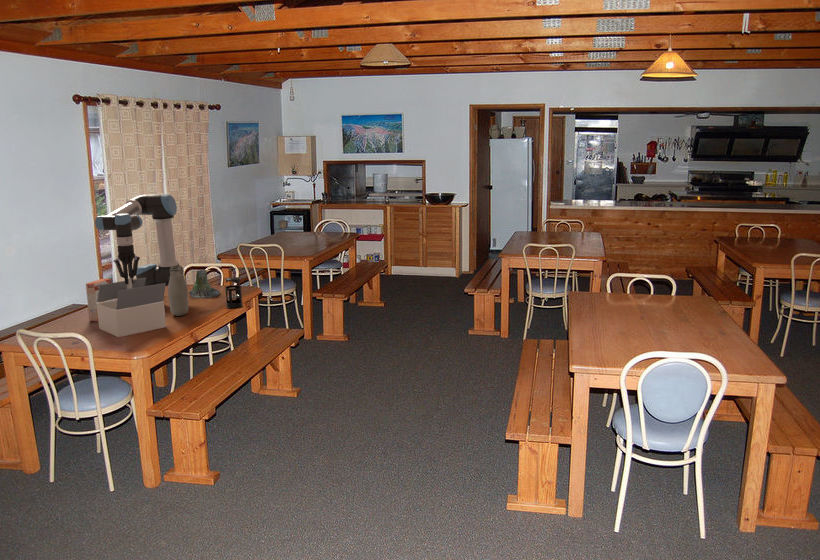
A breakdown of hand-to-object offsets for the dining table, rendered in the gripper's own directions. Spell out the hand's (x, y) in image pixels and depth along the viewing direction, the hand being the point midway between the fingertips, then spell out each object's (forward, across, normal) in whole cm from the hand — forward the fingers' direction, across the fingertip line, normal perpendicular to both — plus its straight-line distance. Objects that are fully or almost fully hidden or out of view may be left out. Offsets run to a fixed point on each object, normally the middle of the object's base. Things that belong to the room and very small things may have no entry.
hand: (129, 290), depth 353 cm
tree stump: (+21, +64, +41) cm, 79 cm away
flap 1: (+1, 0, +9) cm, 9 cm away
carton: (+20, 0, 0) cm, 20 cm away
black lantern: (+21, +60, -1) cm, 63 cm away
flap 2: (+1, 0, -13) cm, 13 cm away
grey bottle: (+20, +29, +5) cm, 36 cm away
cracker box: (+20, -3, +32) cm, 38 cm away
